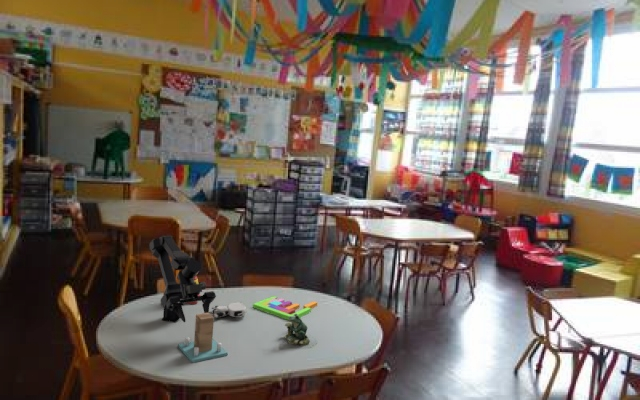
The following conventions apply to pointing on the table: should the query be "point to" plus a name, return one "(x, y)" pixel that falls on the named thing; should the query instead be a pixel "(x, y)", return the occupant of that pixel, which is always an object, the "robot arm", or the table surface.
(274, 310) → the toy blocks
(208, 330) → the walnut pillar
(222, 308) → the robot toy
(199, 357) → the peg plate
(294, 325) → the frog figurine
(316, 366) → the table surface
